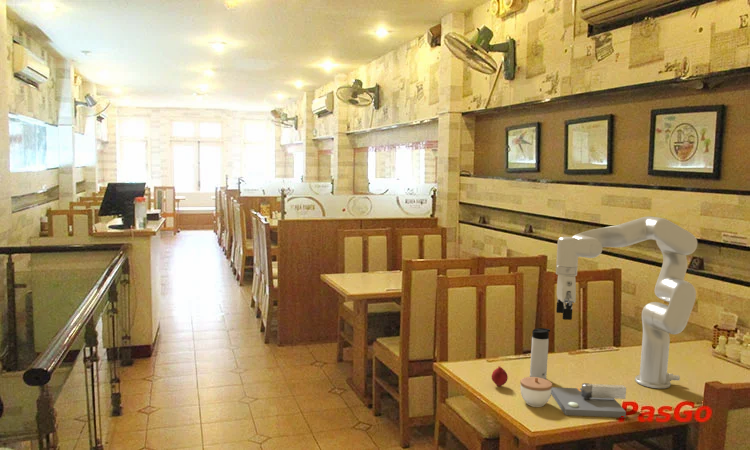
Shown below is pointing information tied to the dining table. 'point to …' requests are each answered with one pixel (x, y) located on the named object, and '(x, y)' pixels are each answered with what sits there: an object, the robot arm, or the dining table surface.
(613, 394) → the light grey rectangular bar
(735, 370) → the dining table surface
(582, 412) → the base
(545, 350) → the travel mug
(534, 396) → the lidded jar
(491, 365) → the dining table surface
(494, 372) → the onion
